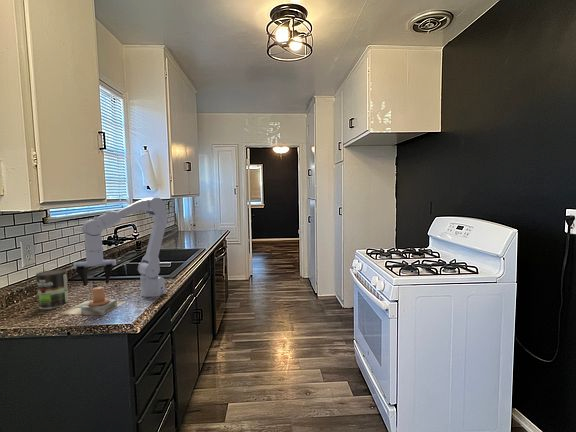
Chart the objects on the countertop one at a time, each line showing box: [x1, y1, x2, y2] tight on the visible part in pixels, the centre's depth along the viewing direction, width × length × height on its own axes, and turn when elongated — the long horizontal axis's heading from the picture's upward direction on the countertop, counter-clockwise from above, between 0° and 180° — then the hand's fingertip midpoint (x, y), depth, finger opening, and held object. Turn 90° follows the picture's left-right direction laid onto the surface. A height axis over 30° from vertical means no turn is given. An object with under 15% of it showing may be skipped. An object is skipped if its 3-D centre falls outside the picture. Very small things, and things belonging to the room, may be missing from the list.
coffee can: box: [35, 268, 69, 310], centre depth 134 cm, size 10×10×14 cm
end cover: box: [89, 286, 110, 306], centre depth 124 cm, size 7×7×8 cm
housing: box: [59, 299, 126, 316], centre depth 127 cm, size 18×14×4 cm
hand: (96, 284), depth 127 cm, fingers open, 7 cm apart
